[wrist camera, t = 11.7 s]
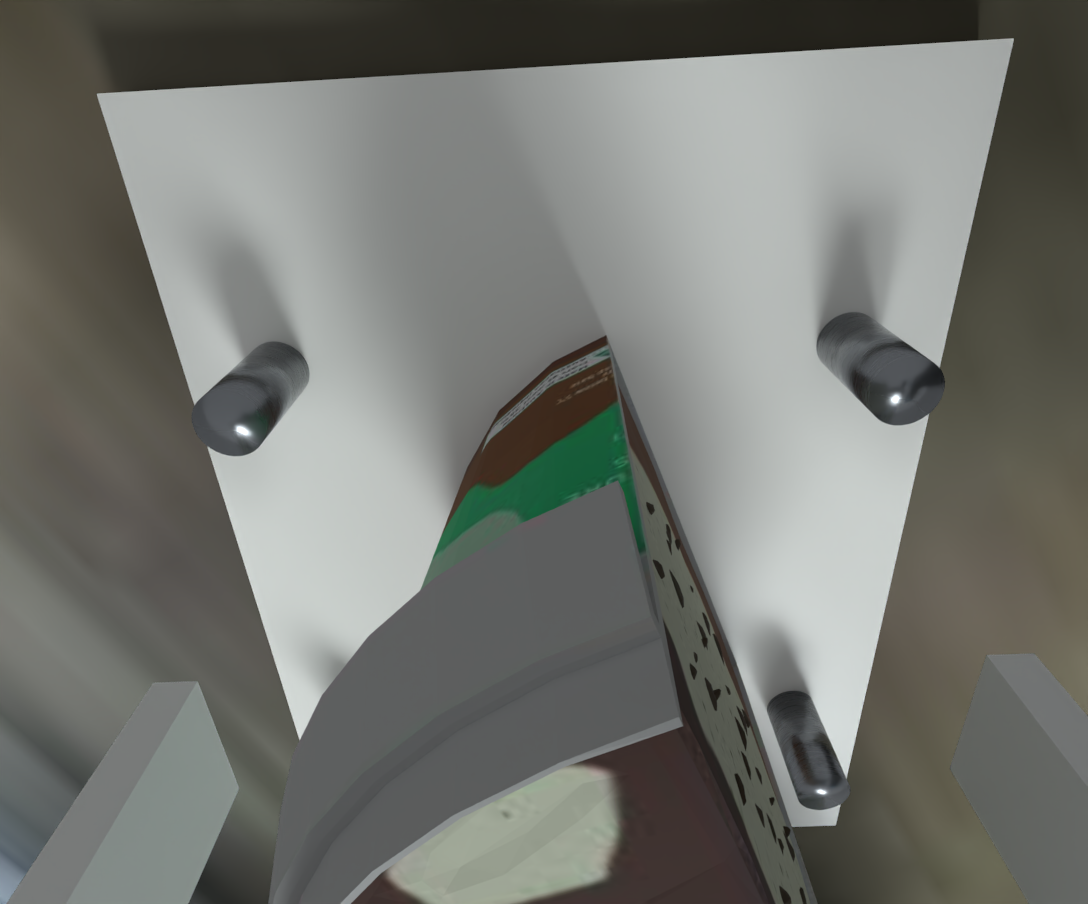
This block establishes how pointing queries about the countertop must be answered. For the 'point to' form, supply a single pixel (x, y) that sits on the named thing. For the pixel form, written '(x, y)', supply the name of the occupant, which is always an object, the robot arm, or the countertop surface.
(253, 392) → the pin tray
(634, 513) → the food container
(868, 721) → the countertop surface
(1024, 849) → the robot arm
